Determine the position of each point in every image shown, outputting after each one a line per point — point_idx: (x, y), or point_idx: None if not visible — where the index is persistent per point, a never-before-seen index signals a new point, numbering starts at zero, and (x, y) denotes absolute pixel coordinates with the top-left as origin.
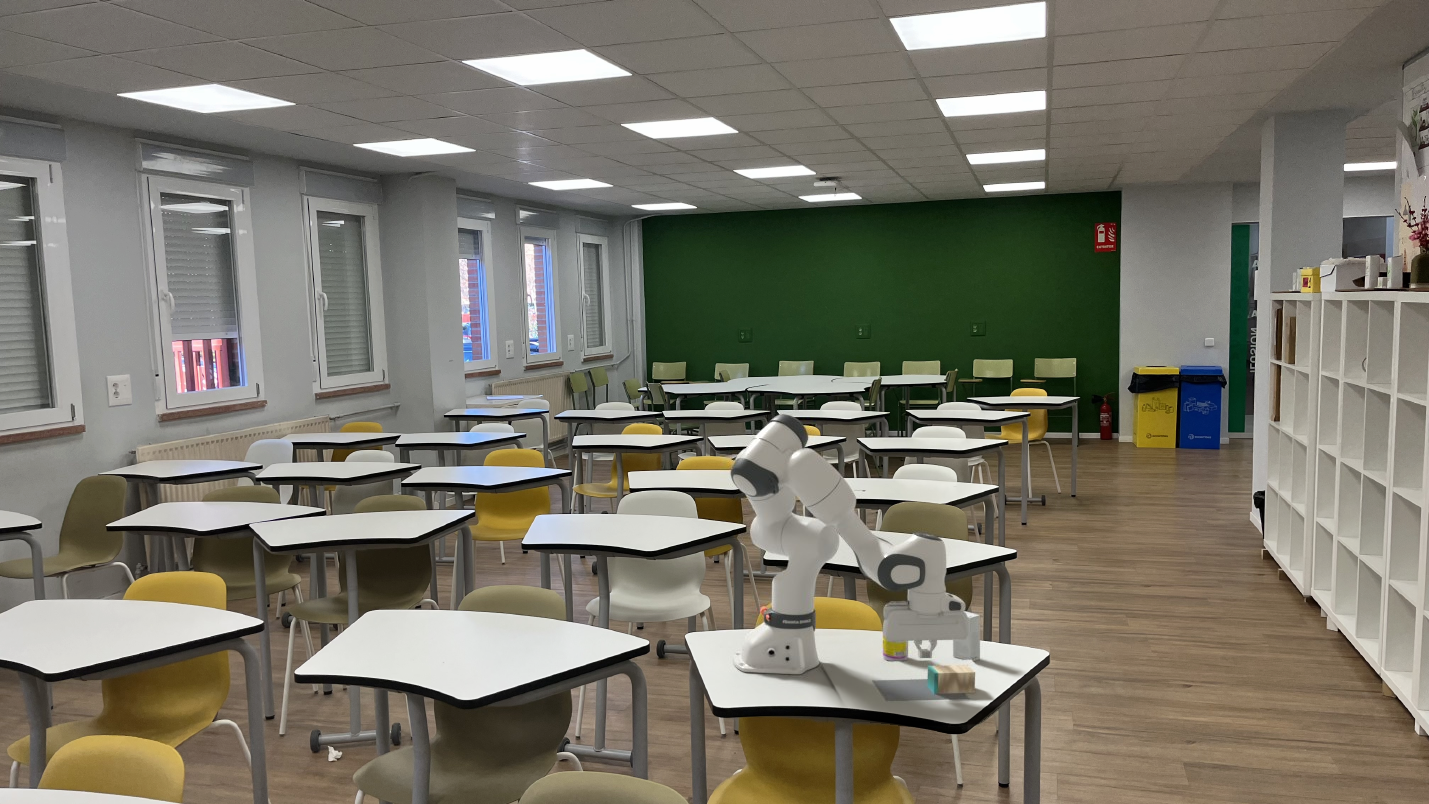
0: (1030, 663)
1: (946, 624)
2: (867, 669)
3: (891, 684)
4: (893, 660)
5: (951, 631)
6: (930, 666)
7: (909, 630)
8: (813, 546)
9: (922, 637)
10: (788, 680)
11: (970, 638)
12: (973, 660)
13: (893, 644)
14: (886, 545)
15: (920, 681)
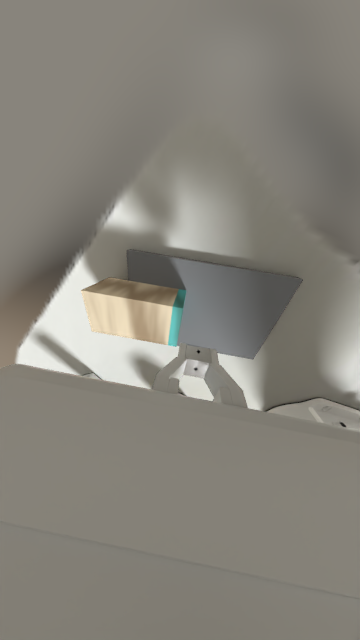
0: (24, 354)
1: (22, 523)
2: None
3: (234, 341)
4: (181, 394)
5: (41, 426)
6: (172, 342)
7: (351, 508)
8: None
9: (234, 421)
10: (351, 390)
11: None
12: (89, 374)
13: None
14: None
15: (183, 339)
